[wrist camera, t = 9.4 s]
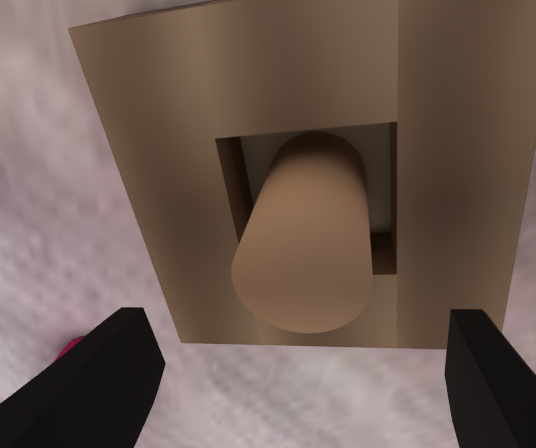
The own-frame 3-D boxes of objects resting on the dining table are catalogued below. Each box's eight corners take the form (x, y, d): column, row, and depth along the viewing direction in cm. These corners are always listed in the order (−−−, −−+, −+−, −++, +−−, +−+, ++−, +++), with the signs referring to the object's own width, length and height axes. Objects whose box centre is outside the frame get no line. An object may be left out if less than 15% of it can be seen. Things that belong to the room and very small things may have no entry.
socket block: (516, -52, 13) (571, -57, 10) (474, 287, 20) (498, 350, 17) (125, 15, 17) (67, 28, 13) (205, 289, 24) (181, 342, 20)
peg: (383, 153, 17) (400, 256, 11) (341, 230, 19) (336, 350, 13) (289, 116, 16) (255, 199, 11) (258, 198, 19) (215, 304, 13)
